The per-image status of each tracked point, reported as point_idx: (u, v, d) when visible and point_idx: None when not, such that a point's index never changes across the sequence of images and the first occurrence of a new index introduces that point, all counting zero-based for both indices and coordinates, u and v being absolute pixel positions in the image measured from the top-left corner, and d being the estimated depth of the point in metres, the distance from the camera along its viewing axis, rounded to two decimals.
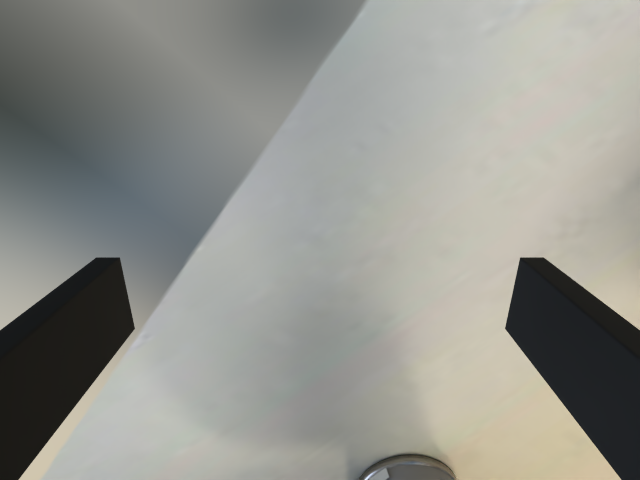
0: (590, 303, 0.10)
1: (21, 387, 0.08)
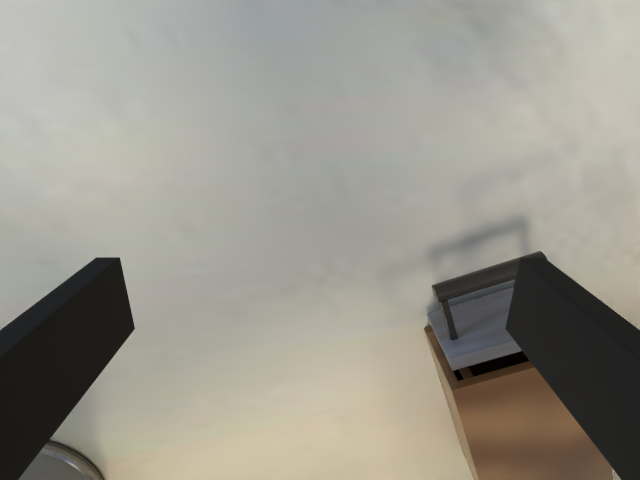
0: (590, 303, 0.10)
1: (21, 387, 0.08)
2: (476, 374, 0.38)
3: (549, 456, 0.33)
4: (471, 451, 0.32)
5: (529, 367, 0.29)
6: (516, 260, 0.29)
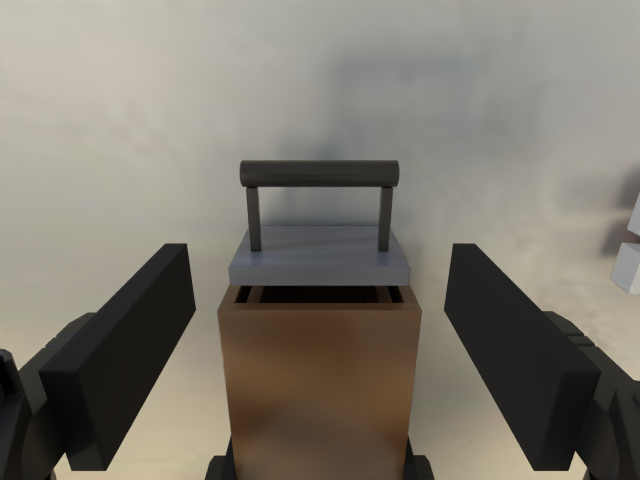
0: (499, 281, 0.11)
1: (129, 351, 0.09)
2: None
3: (330, 444, 0.24)
4: (229, 409, 0.23)
5: (330, 309, 0.21)
6: (361, 160, 0.21)
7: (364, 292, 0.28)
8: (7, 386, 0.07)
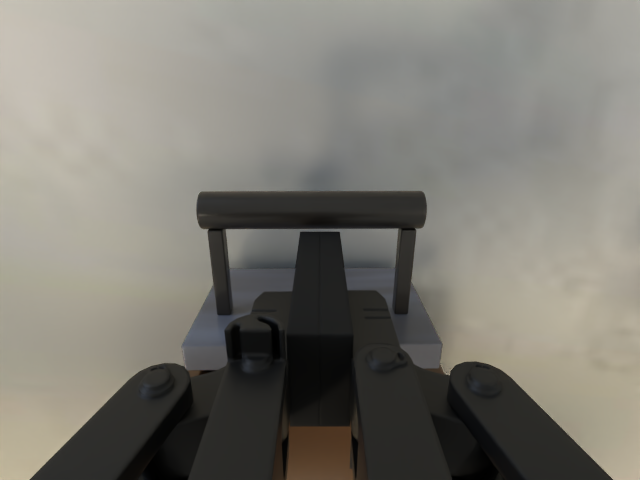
0: (332, 263, 0.12)
1: None
2: None
3: None
4: None
5: None
6: (372, 192, 0.15)
7: None
8: (273, 349, 0.08)
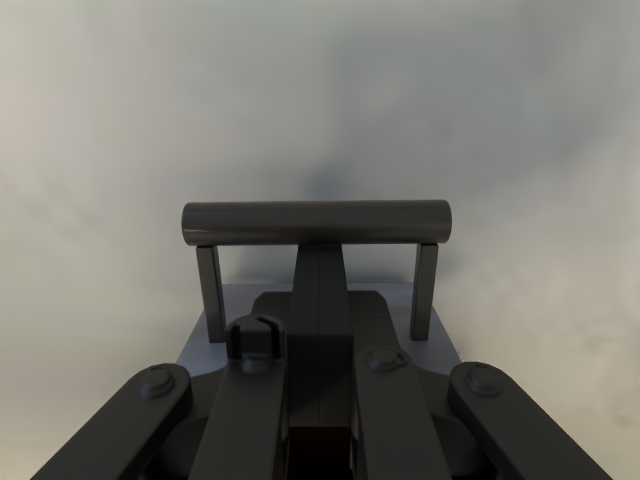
0: (332, 263, 0.12)
1: None
2: None
3: None
4: None
5: None
6: (387, 201, 0.12)
7: None
8: (273, 349, 0.08)
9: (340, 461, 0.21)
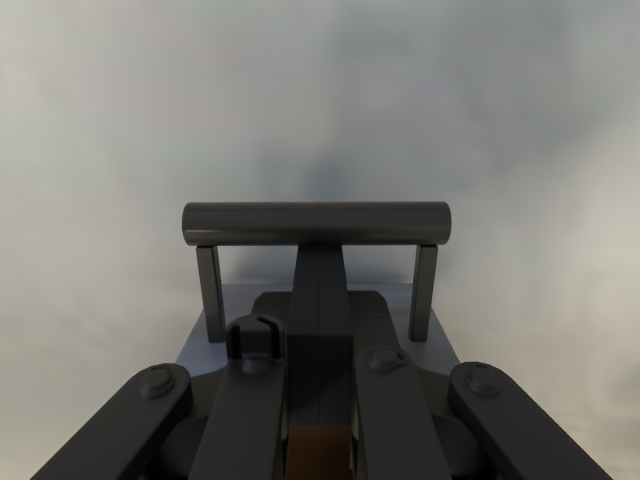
0: (332, 263, 0.12)
1: None
2: None
3: None
4: None
5: None
6: (387, 203, 0.13)
7: None
8: (272, 349, 0.08)
9: (338, 461, 0.22)
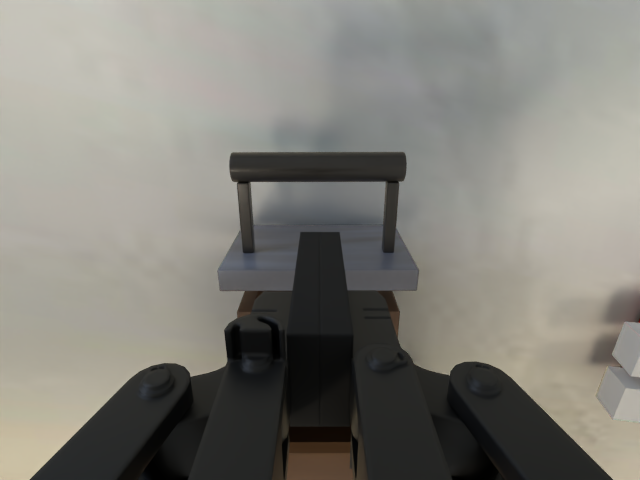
0: (332, 263, 0.12)
1: None
2: None
3: None
4: None
5: (329, 451, 0.22)
6: (364, 152, 0.19)
7: None
8: (273, 350, 0.08)
9: None
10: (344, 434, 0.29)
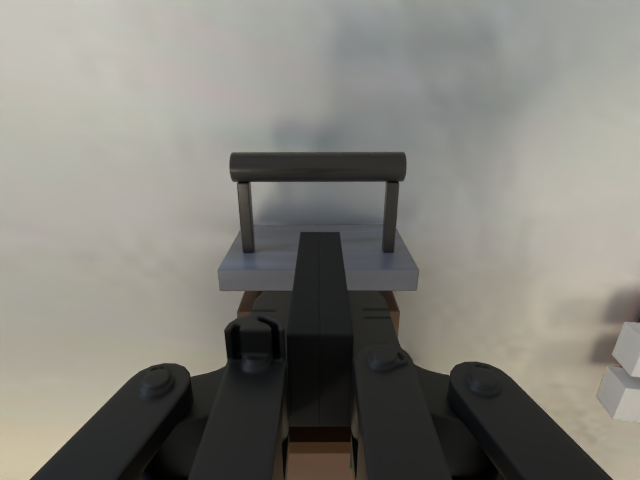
0: (332, 263, 0.12)
1: None
2: None
3: None
4: None
5: (329, 451, 0.22)
6: (364, 152, 0.19)
7: None
8: (273, 350, 0.08)
9: None
10: (344, 434, 0.29)
